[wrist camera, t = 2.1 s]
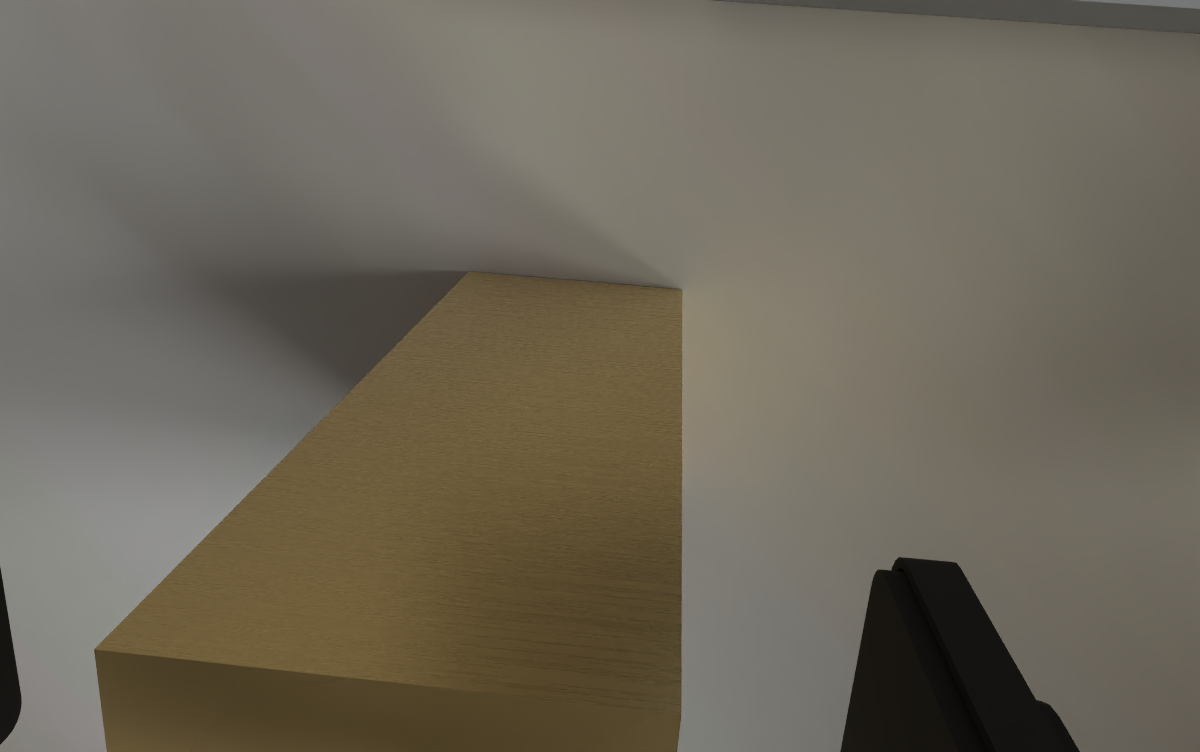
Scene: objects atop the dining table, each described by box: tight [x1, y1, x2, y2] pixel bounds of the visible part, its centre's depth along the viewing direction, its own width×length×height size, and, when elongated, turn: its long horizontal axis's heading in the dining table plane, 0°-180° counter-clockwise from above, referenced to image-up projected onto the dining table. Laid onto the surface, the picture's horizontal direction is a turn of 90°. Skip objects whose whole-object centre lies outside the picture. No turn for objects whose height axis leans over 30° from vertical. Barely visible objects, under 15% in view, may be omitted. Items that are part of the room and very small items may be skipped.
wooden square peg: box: [94, 271, 682, 752], centre depth 13 cm, size 4×4×12 cm
